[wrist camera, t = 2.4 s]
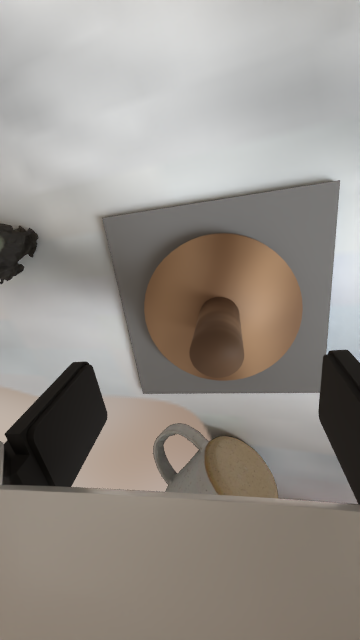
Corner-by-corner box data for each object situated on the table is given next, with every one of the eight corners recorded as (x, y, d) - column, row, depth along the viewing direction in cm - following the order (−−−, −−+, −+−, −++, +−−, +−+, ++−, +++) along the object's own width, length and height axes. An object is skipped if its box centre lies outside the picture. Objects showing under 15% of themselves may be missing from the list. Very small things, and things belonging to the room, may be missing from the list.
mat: (336, 181, 15) (340, 180, 15) (320, 387, 21) (322, 392, 20) (105, 217, 19) (102, 218, 18) (144, 389, 24) (143, 393, 23)
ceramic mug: (277, 452, 24) (296, 547, 17) (232, 496, 28) (233, 591, 21) (178, 400, 24) (156, 476, 17) (145, 451, 28) (116, 532, 21)
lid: (300, 221, 16) (343, 226, 10) (297, 371, 20) (326, 438, 14) (134, 244, 18) (91, 260, 12) (161, 375, 22) (137, 434, 16)
